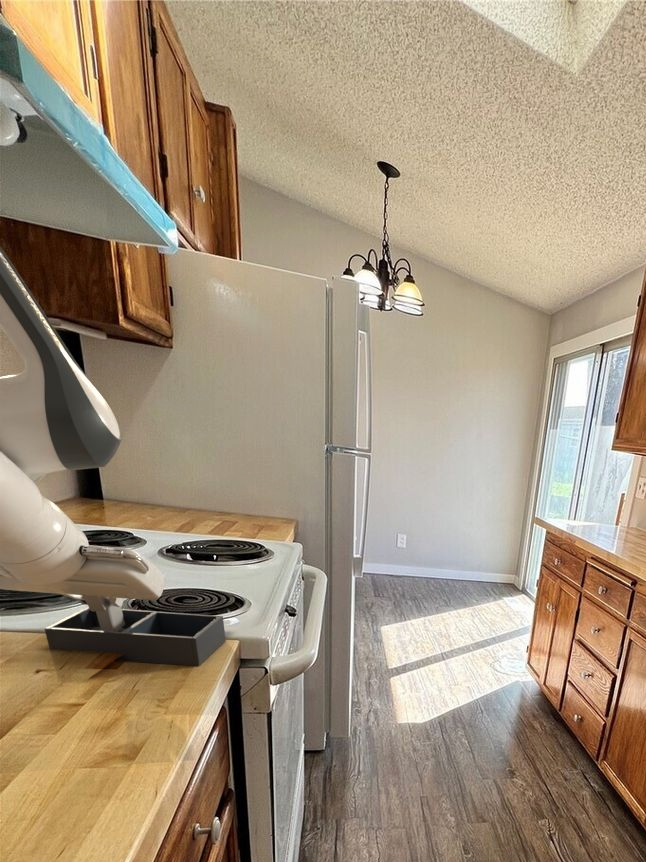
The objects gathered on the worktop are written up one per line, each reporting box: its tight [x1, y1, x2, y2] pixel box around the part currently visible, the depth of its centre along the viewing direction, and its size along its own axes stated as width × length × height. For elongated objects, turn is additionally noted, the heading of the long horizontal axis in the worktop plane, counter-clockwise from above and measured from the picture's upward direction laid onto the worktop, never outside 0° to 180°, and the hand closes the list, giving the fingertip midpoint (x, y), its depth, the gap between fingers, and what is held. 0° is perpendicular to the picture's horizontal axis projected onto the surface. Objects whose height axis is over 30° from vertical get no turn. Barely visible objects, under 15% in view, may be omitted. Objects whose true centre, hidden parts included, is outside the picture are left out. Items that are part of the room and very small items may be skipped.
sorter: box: [44, 606, 227, 667], centre depth 79 cm, size 19×10×4 cm, turn 95°
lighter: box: [82, 595, 125, 632], centre depth 77 cm, size 7×2×8 cm, turn 15°
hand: (104, 601), depth 77 cm, fingers closed on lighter, 2 cm apart
